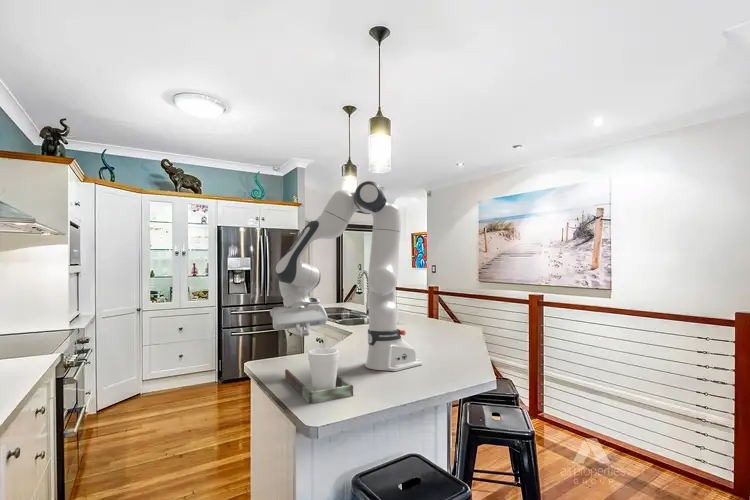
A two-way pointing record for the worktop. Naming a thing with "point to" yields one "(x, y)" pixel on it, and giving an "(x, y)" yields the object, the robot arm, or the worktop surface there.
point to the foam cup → (323, 367)
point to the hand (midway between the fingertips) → (305, 335)
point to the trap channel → (321, 395)
